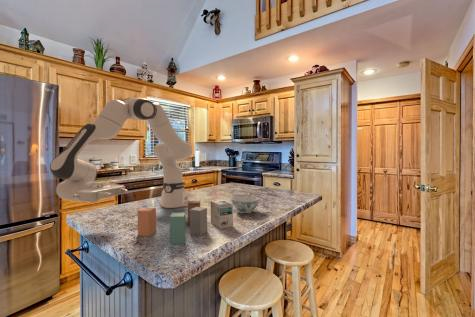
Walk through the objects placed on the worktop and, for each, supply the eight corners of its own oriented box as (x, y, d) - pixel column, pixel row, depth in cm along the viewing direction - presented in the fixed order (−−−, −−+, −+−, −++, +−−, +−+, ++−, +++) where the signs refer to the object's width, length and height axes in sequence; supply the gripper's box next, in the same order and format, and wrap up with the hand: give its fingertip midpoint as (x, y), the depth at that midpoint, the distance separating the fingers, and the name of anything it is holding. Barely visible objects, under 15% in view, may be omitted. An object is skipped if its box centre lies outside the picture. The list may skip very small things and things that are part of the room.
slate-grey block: (197, 229, 100) (196, 206, 100) (207, 231, 98) (206, 207, 98) (190, 233, 95) (189, 209, 95) (200, 235, 93) (200, 210, 93)
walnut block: (189, 221, 112) (189, 200, 111) (200, 221, 112) (200, 200, 111) (187, 225, 107) (187, 203, 106) (198, 224, 107) (198, 203, 106)
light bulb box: (233, 227, 104) (233, 202, 104) (219, 229, 101) (219, 204, 100) (223, 220, 113) (222, 198, 113) (210, 222, 110) (209, 199, 109)
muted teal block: (172, 238, 90) (172, 212, 90) (185, 238, 91) (185, 212, 90) (169, 243, 85) (169, 216, 85) (183, 243, 86) (183, 216, 85)
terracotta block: (145, 230, 99) (145, 207, 98) (156, 231, 98) (155, 208, 97) (137, 235, 94) (137, 210, 94) (148, 236, 93) (148, 211, 92)
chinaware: (244, 217, 118) (244, 202, 117) (226, 211, 129) (226, 197, 129) (265, 212, 127) (265, 198, 127) (246, 207, 139) (246, 194, 138)
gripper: (69, 187, 91) (98, 189, 88) (109, 181, 111) (134, 183, 108) (69, 204, 91) (98, 206, 88) (109, 195, 111) (134, 196, 108)
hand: (118, 193), depth 98 cm, fingers open, 8 cm apart
